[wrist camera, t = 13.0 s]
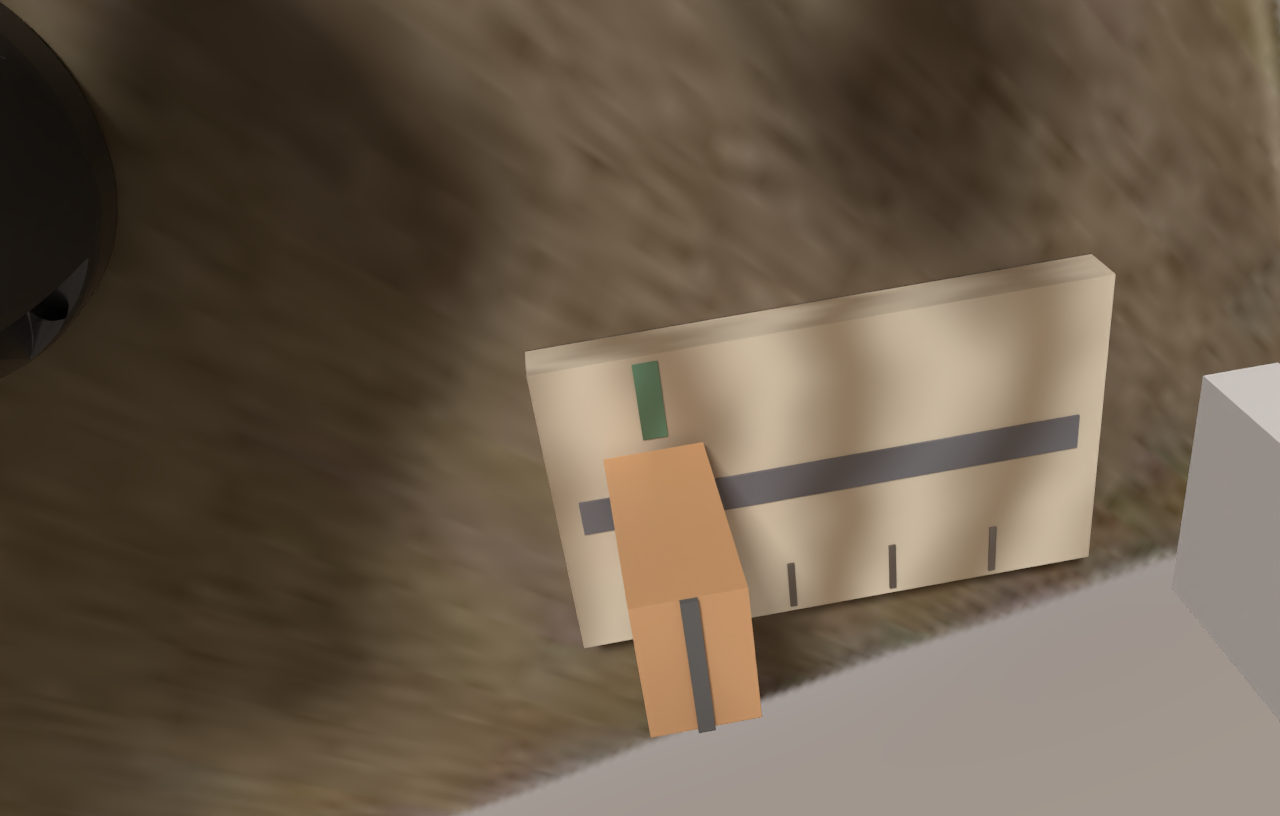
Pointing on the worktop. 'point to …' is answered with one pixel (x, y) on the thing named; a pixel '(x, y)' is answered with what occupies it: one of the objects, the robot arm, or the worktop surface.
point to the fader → (683, 591)
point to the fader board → (847, 434)
